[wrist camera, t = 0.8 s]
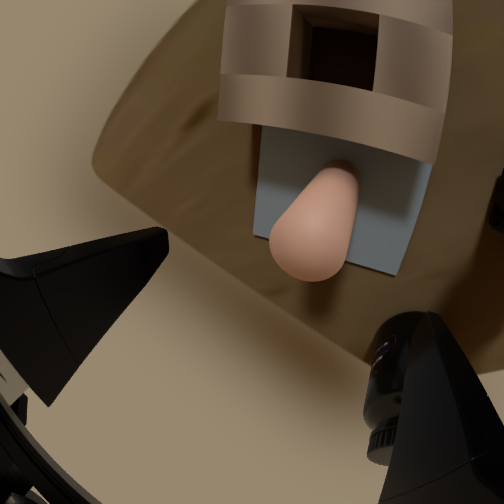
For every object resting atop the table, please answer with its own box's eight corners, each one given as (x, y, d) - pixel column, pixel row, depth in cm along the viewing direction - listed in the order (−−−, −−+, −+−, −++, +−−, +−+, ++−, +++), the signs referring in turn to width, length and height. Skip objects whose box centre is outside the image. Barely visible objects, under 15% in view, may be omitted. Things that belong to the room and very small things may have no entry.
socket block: (435, 17, 10) (451, -8, 6) (419, 150, 15) (434, 165, 11) (262, -7, 14) (230, -31, 10) (252, 114, 19) (217, 120, 15)
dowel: (365, 165, 17) (355, 222, 9) (356, 206, 19) (335, 290, 11) (322, 155, 18) (273, 201, 10) (315, 195, 20) (265, 269, 12)
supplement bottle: (365, 319, 23) (338, 441, 14) (437, 298, 20) (447, 428, 10) (385, 366, 25) (365, 473, 16) (448, 350, 21) (449, 464, 12)
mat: (431, 162, 15) (432, 163, 15) (395, 272, 20) (396, 275, 20) (264, 123, 19) (262, 123, 19) (254, 232, 24) (252, 234, 23)
